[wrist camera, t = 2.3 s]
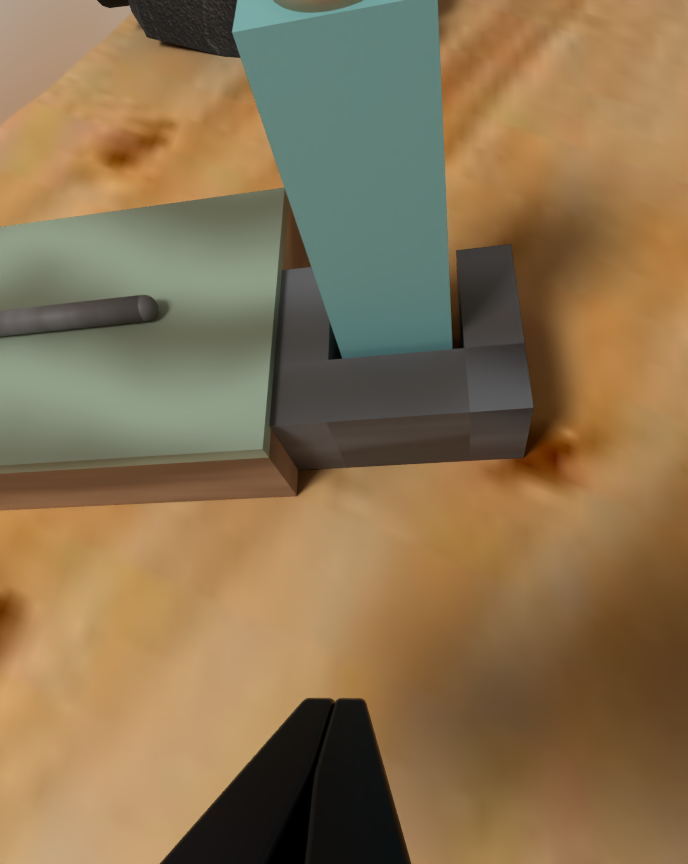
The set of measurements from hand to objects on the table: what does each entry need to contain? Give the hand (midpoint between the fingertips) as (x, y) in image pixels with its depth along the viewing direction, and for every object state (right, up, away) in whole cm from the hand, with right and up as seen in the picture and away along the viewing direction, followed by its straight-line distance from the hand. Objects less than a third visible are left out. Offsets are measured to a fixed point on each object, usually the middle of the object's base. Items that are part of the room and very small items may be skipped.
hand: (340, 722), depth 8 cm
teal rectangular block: (+3, +7, +17) cm, 19 cm away
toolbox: (-6, +7, +19) cm, 21 cm away
